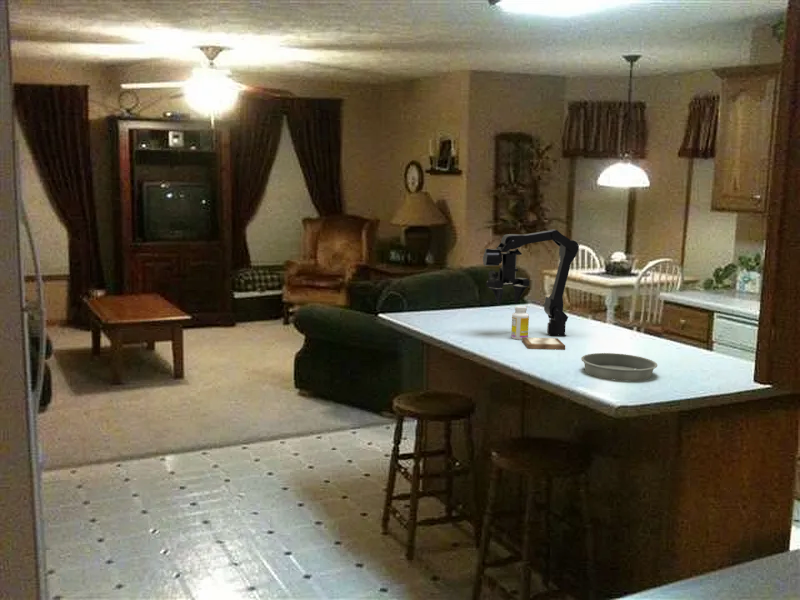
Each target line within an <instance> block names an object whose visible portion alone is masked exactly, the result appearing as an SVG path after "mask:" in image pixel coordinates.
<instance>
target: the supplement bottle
mask: <svg viewBox="0 0 800 600" xmlns="http://www.w3.org/2000/svg"><path fill="white" fill-rule="evenodd" d="M527 309H528V307H527V306H524V305H515V307H514V311H515V312H513V313H512V316H511V333H510V334H511V338H512V339H513V340H518V341H519V340H520V341H522V337H524V338H529V323H530V322H529V321H530V320H529V319H530V315H529V314H528V313H527Z"/></svg>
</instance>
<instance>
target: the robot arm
mask: <svg viewBox="0 0 800 600" xmlns="http://www.w3.org/2000/svg"><path fill="white" fill-rule="evenodd" d="M551 240H552V241H553V242H554V244H555V245H557V246H558V247H559V251H558V254H559V263H558V267H557V271H556V275H555V279H554V283H553V285H552V286H553V287H552V291H551V294H550V296H545V299H544V303H543V305H542V307H544V308H543V309H544V312H545V314H546V315H547V316H548V322H547V328H546V329H547V330H546V331H547V334H548V335H549V336H551V337H552V336H553V337H566V336H567V334H566V324H567V321H568V318H569V316H568V315H567V314H566V313H565V311H564V292H565V289H566V285H567V281H568V276H569V273H570V269H571V265H572V262H573V261H574V259H575V258H576V256H577V254H578V252H579V248H580V247H579V246H580V245H579V243H578V242H577V241H576V240H572V239H570V238H569V237H567V236H565V235H564V234H563V233H561V232H560V231H559V230H558V229H548V230H542V231H537V232H531V233H524V234H517V233H509V234H508V233H506V234H504V235H503V236H502V238H501V240H500V241H501V242H500V243H499V244H498V245H497V247H496V248H485V249H484V253H483V256H482V262H483V265H484V266H485V267H486V266H487V267H488V266H493V267H495V266H497V267H498V266H500V264H501V267H499V269H498V271H495V270H490V271H489V272H488V279H487V281H486V287H487V288H488V289H489V290H491V291H492V292H493V295H494V297H495V300H496V304H497V305H498V306H500V305H501V303H502V299H503V293H504V288H503V287H504V286H512V288H513V291H514V296H513V297H514V301H513V302H514V304H518V302H519V301H520V298H521V297H522V295H523V293H524V292H525V290H526V289H528V287H529V286H530V280H529V278H525V277H517V275H516V274H517V272H518V271H519V268H517V257H518V256H521V255H522V252H521V251H520V250H519V248H521V247H523V246H525V245H530V244H535V243H541V242H547V241H551Z"/></svg>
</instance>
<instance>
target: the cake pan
mask: <svg viewBox="0 0 800 600" xmlns="http://www.w3.org/2000/svg"><path fill="white" fill-rule="evenodd" d="M580 359H581V362H582V363H583V364H584V371H585V372H586V373H587V374H588V373H589V375H590V374H591V375H590V376H593V375H594V377H596V376H597V377H596V378H600V377H601V378H600V379H605V378H607V379H606V380H611V379H615V380H614V381H622V380H630V381H631V380H632V381H631V382H633V381H634V382H636V381H637V382H638V381H645V380H648V378H649V379H650V378H652V375H653V371H654V369H656V368H657V367H658V363H657V362H656V361H654V360H652V359H649V358H646V357H643V356H639V355H632V354H627V353H614V352H613V353H612V352H600V353H599V352H598V353H588V354H585V355H583V356H582V357H581V358H580ZM644 379H645V380H644ZM630 381H629V382H630Z"/></svg>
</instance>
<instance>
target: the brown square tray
mask: <svg viewBox="0 0 800 600" xmlns="http://www.w3.org/2000/svg"><path fill="white" fill-rule="evenodd" d="M521 342H522V343H523V345H524V346H525V347H526V348H527V350H555V349H556V350H561V351H563V350H566V344H564V343H563V342H562V341H561V340H560V339H559V338H557V337H556V338H555V337H528V338H524V337H522V340H521Z"/></svg>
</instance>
